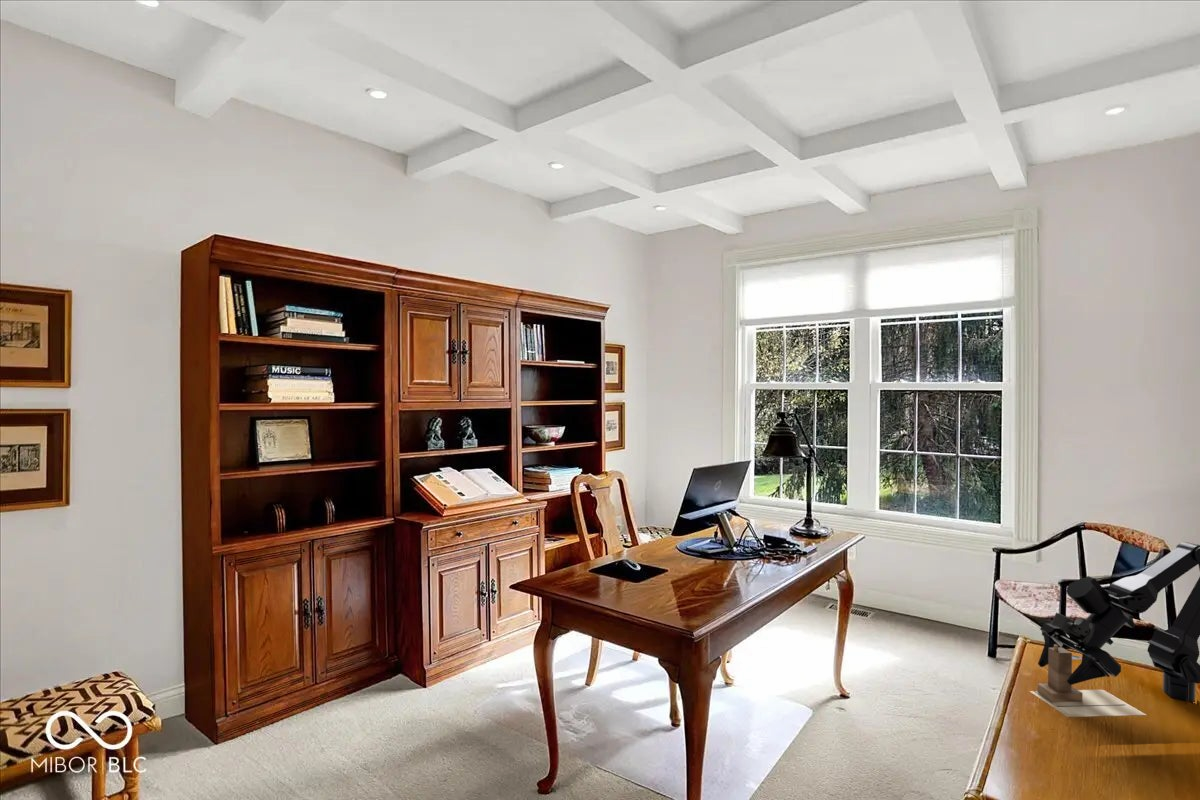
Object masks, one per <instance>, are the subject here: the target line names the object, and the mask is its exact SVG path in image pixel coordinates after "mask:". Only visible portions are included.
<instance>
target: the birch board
mask: <svg viewBox="0 0 1200 800" xmlns="http://www.w3.org/2000/svg"><path fill="white" fill-rule="evenodd" d="M1077 690H1078V691H1080V692H1082V702H1052V701H1050V700H1049V699H1047V698H1046V697H1044V696H1043V695H1041V694H1040V693H1038V692H1037V690H1029V693H1031V694H1033V695H1034V696H1036V697H1037V698H1039V699H1040V700H1041V701H1043V702H1045V703H1046V704H1048V705H1049V706H1051V707H1052V708H1053V709H1055V710H1056V711H1058V712H1060V714H1062V715H1063V716H1065V717H1067V718H1078V717H1079V718H1081V717H1082V718H1083V717H1086V718H1088V717H1120V716H1121V717H1126V716H1127V717H1128V716H1147V714H1146V713H1144V712H1142V711H1141V710H1139V709H1137V708H1136V707H1134V706H1132V705H1130V704H1128V703H1127V702H1125V701H1124V700H1122V699H1120V698H1118V697H1117V696H1115V695H1113V694H1111V693H1110V692H1108V691H1107V690H1104V689H1077Z"/></svg>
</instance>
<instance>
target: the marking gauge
mask: <svg viewBox="0 0 1200 800" xmlns="http://www.w3.org/2000/svg"><path fill="white" fill-rule="evenodd" d="M1072 655H1073V652H1071V651H1069V650H1068V649H1067V650H1066V649H1064V648H1062V647H1058V645H1054V648H1048V665H1047V667H1048V669H1047V683H1037V690H1036V691H1037V692H1038V693H1040V694H1041V695H1043V696H1044V697H1046V698H1047V699H1049V700H1050V701H1052V702H1082V692H1080V691H1078V690H1079V689H1077V688H1075V687H1074V686H1072V685H1070V684H1069V683H1068V682H1067V680H1068V678H1069V677H1070V676H1071V674H1072V673H1073V671H1072V670H1073V669H1072V667H1073V666H1072V665H1073V659H1072Z"/></svg>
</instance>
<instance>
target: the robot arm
mask: <svg viewBox="0 0 1200 800" xmlns="http://www.w3.org/2000/svg"><path fill="white" fill-rule="evenodd" d="M1196 566H1198V570H1199V571H1200V544H1195V543H1193V542H1192V543H1191V542H1188V541H1184V542H1183V541H1182V542H1180V543H1178V544H1177V545H1176V548H1175V549H1173V550H1171V551H1170V552H1169V553H1167V554H1166V555H1164V556H1163V557H1161V558H1160V559H1159V560H1157V561H1156V562H1154V563H1153V564H1151V565H1150V566H1149V567H1147V568H1146V569H1144V570H1143V571H1142V572H1139V573H1138V574H1136V575H1131V576H1130V575H1129V576H1125V577H1122V578H1120V579H1118V580H1116V581H1113V582H1112V583H1111V584H1110V585H1105V586H1102V585H1101V584H1100V583H1099V581H1098V580H1097V579H1096V578H1094V577H1093V576H1089V575H1087V576H1086V577H1085V578H1083V579H1081V578H1080V579H1077V580H1075V581H1071V583H1069V584H1068V586H1067V587H1066V594H1067V596H1069V598H1071V600H1072V601H1073V602H1075V603H1076V605H1077V606H1078V607H1079V608H1080V609H1081V610H1082V611H1084V612H1085V613H1086V614H1090V615H1088V616H1087V617H1086V618H1082V617H1078V618H1076V619H1075V620H1074V619H1072V618H1070V617H1068V616H1066V615H1063V614H1061V613H1059V612H1055V615H1054V617H1053V619H1052V621H1051V623H1049V622H1048V623H1045V622H1044V624H1043V625H1042V626H1041V627H1040V628H1039V631H1040V632H1041V636H1042V637H1043V640H1044V644H1043V645H1044V646H1043V649H1042V652H1041V654H1040V657H1039V659H1038V662H1037V665H1038V666H1039V667H1040V668H1043V667H1046V666H1048V648H1054V645H1058V647H1062V648H1064V649H1066V650H1067V651H1068V650H1070V649H1073V650H1074V651H1076V652H1078V653H1080V654H1082V655H1081V657H1082V659H1081V662H1080V664H1079V665H1078V666H1077V667H1076V668H1075V669H1074V671H1072V674H1071V676H1070V677H1069V678H1068V680H1067V682H1068V683H1069V684H1070V685H1075V684H1079V683H1084V682H1086V681H1090V680H1095V679H1100V678H1105V677H1106V678H1110V676H1111V677H1114V678H1116V677H1117V676H1118V675H1120V674H1121V673H1122V666H1121V664H1120V663H1119V662H1118V661H1117V660H1116V659H1115V658H1114V657H1113V656H1112V655H1111V654H1110V653H1109V652H1108V651H1106V650H1104V649H1102V648H1103V646H1105V645H1106V644H1108V645H1110V646H1111V645H1112V644H1113V643H1114V641H1113V640H1112V637H1113V636H1114V635H1115V634H1116V633H1117V632H1118V631H1119V630H1120V629H1121V628H1122V627H1123V626H1127V627H1130V628H1132V629H1134V628H1135V622H1134V616H1133V615H1131V614H1130V613H1127V612H1125V611H1124V610H1122V609H1121V608H1123V609H1125V610H1126V611H1130V612H1132V613H1136V614H1143V613H1145V612H1146V611H1148V610H1149V609H1150V608H1151V607H1152V606H1153V605H1154V603H1156V602H1157V601H1158V600H1157V599H1158V596H1159V593H1160V592H1161V591H1162V590H1163V589H1165V588H1166V587H1168V586H1169V585H1170V584H1172V583H1174V582H1175V581H1176V580H1178V579H1179V578H1180V577H1182V576H1183V575H1185V574H1186V573H1188V572H1189V571H1191V570H1192V569H1194V567H1196ZM1199 638H1200V576H1199V577H1198V580H1197V581H1196V582H1195V585H1194V586H1193V588H1192V589H1191V591H1190V593H1189V595H1188V597H1187V598H1186V600H1185V601H1184V604H1183V606H1182V608H1181V609H1180V611H1179V612H1178V615H1177V616H1176V618H1175V619H1174V622H1173V623H1172V625H1171V626H1170V628H1167V629H1166V630H1161V629H1158V628H1157V629H1155V630H1154V632H1153V635H1152V637H1151V638H1150V639H1149V641H1147V644H1148V646H1147V653H1148V655H1149V657H1150V659H1151V662H1152V664H1153V667H1154V668H1156V669H1159V670H1161V671H1162V673H1163V674H1162V677H1163V678H1162V692H1163V693H1164V694H1166V695H1168V697H1169V698H1171V699H1173V700H1178V701H1181V702H1185V703H1186V702H1189V703H1191V704H1193V702H1195V697H1196V686H1197V685H1196V684H1198V685H1199V684H1200V663H1199V662H1198V659H1199V657H1200V648H1199V643H1198V640H1199Z"/></svg>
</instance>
